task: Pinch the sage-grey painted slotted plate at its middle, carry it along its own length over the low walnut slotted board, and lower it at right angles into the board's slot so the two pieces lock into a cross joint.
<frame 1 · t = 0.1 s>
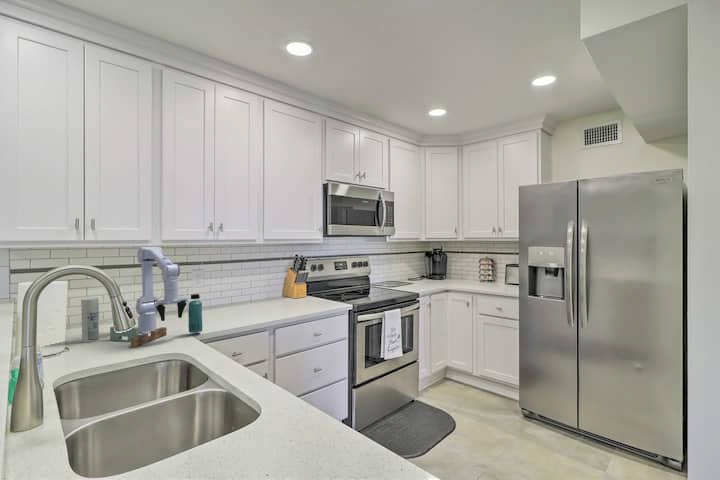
hand: (171, 319, 169), 10 cm above the worktop, tool pointing down, fingers open, 7 cm apart
slotted plate: (125, 340, 171), on the worktop
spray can: (90, 341, 170), on the worktop
slotted board: (149, 341, 169), on the worktop
beverage bottle: (195, 334, 180), on the worktop
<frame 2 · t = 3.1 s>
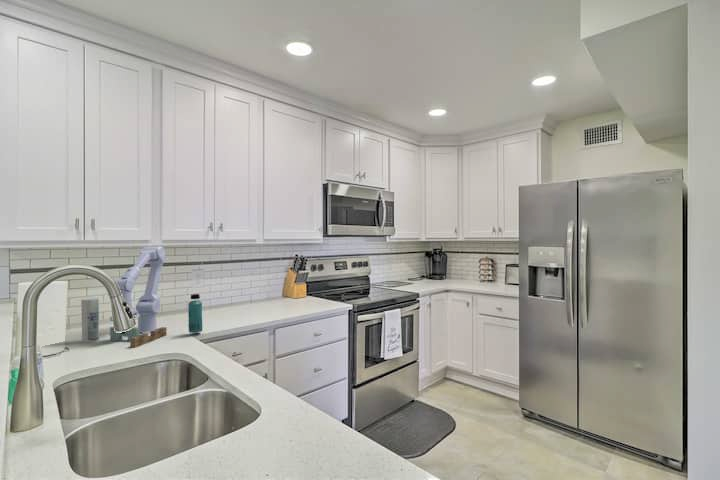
hand: (124, 332, 171), 3 cm above the worktop, tool pointing down, fingers closed on slotted plate, 2 cm apart
slotted plate: (125, 340, 171), on the worktop, touching gripper
everything else where it was.
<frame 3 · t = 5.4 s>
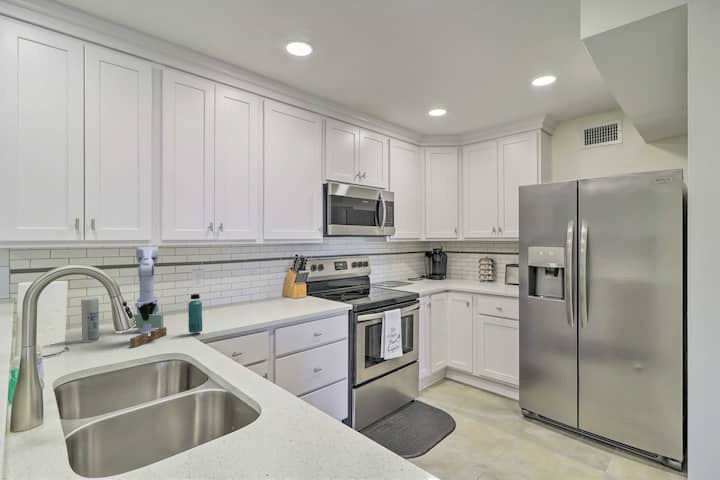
hand: (147, 319, 169), 10 cm above the worktop, tool pointing down, fingers closed on slotted plate
slotted plate: (147, 327, 169), point 6 cm above the worktop, touching gripper
everything else where it was.
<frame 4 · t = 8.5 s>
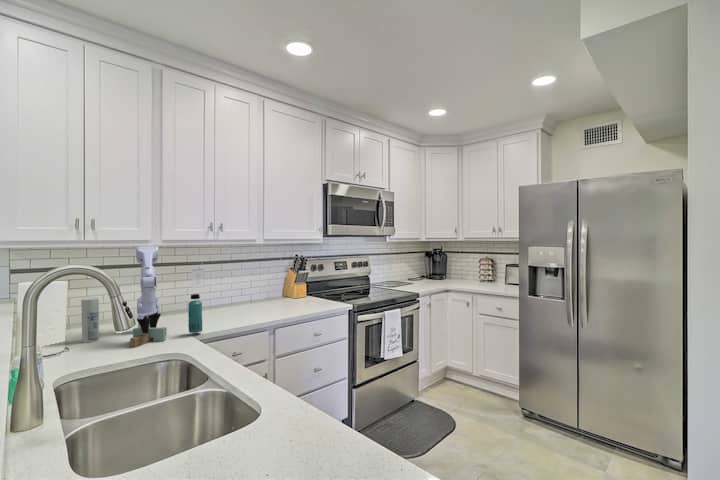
hand: (149, 331, 169), 5 cm above the worktop, tool pointing down, fingers open, 6 cm apart
slotted plate: (149, 341, 169), on the worktop, touching slotted board
everything else where it was.
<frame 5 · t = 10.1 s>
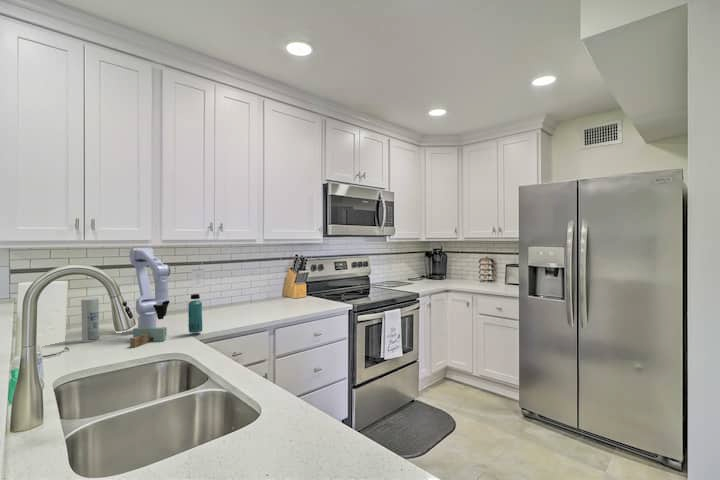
hand: (162, 317, 176), 9 cm above the worktop, tool pointing down, fingers open, 7 cm apart
nothing on the worktop moved.
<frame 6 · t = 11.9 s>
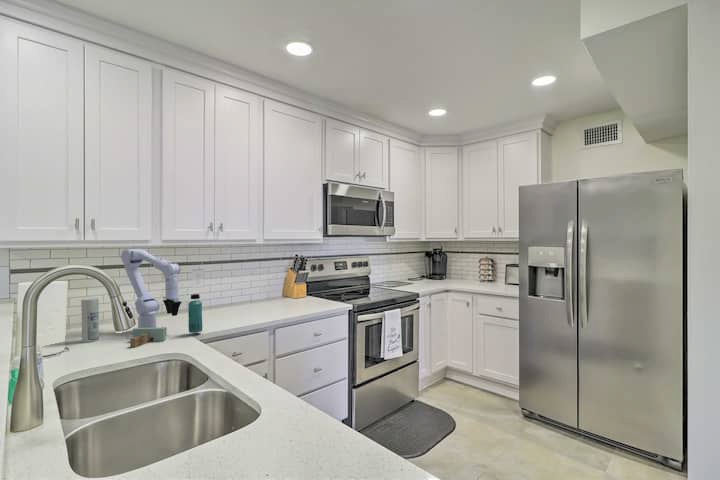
hand: (172, 314, 183), 9 cm above the worktop, tool pointing down, fingers open, 7 cm apart
nothing on the worktop moved.
at the end: slotted plate 0.0 cm off-centre on the slotted board, point 0.0 cm above the slotted board's base; slotted plate tilted 0°; the gripper is holding nothing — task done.
